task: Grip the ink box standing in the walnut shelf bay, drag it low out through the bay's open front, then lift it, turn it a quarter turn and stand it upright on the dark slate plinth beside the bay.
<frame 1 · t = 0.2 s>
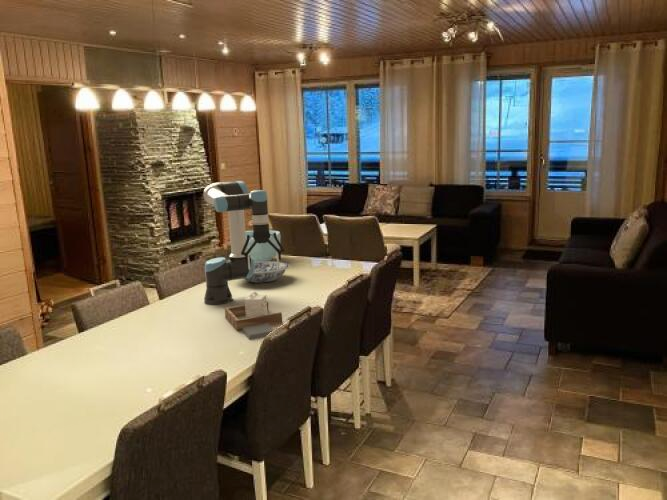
hand: (263, 267, 268), 26 cm above the table, fingers open, 13 cm apart
bowl: (257, 265, 397), on the table
ceramic bowl: (262, 281, 351), on the table
plinth: (258, 333, 257), on the table
ink box: (257, 320, 276), on the table
shelf bay: (253, 320, 275), on the table
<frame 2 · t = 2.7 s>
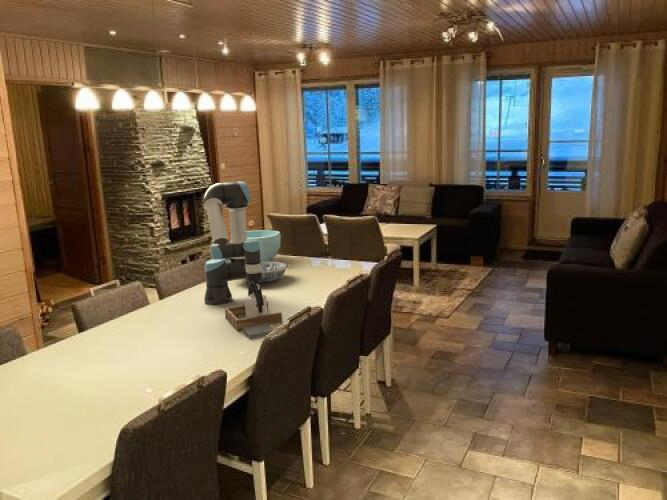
hand: (256, 315, 276), 2 cm above the table, fingers closed on ink box, 11 cm apart
ink box: (257, 320, 276), on the table, touching gripper
everything else where it was.
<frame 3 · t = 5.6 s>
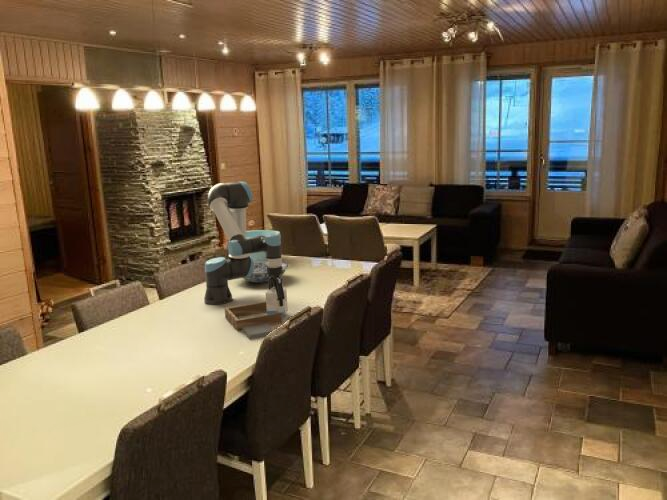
hand: (277, 309, 280), 4 cm above the table, fingers closed on ink box, 11 cm apart
ink box: (277, 313, 280), point 1 cm above the table, touching gripper
everything else where it was.
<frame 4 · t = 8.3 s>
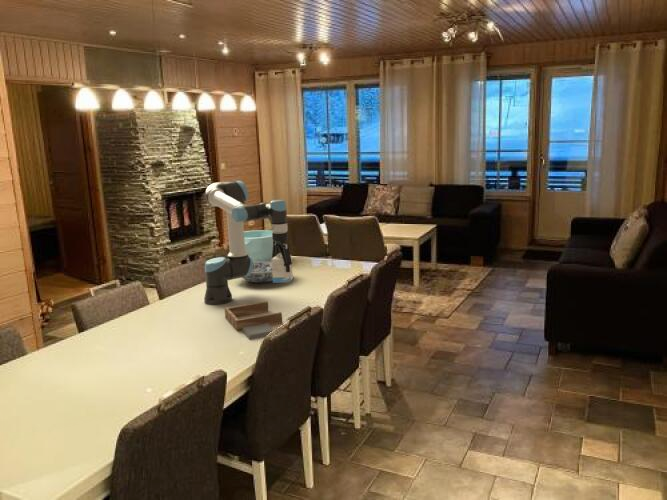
hand: (282, 276, 277), 20 cm above the table, fingers closed on ink box, 11 cm apart
ink box: (283, 280, 277), point 18 cm above the table, touching gripper
everything else where it was.
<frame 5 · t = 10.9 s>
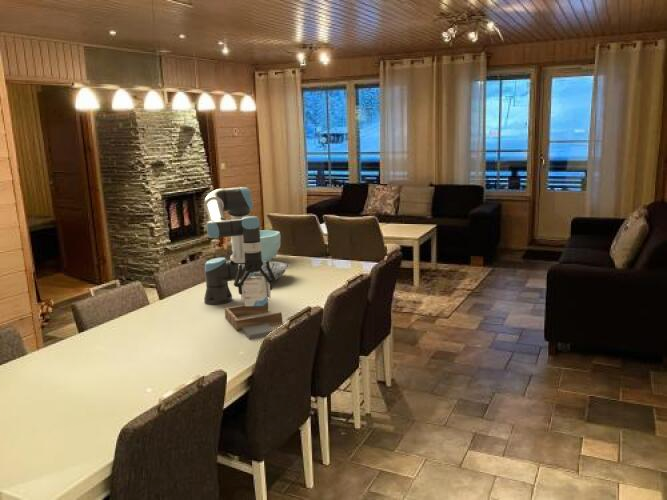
hand: (256, 299, 254), 16 cm above the table, fingers closed on ink box, 11 cm apart
ink box: (256, 304, 254), point 14 cm above the table, touching gripper
everything else where it was.
when the fingers open (6 cm above the table, at t = 13.3 s): ink box drops 1 cm, resting on plinth.
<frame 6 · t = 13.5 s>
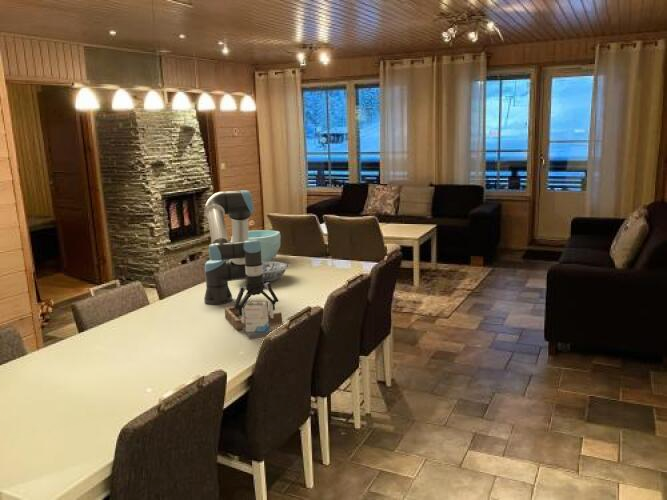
hand: (257, 320, 256), 6 cm above the table, fingers open, 13 cm apart
ink box: (257, 329, 257), point 2 cm above the table, touching plinth
everything else where it was.
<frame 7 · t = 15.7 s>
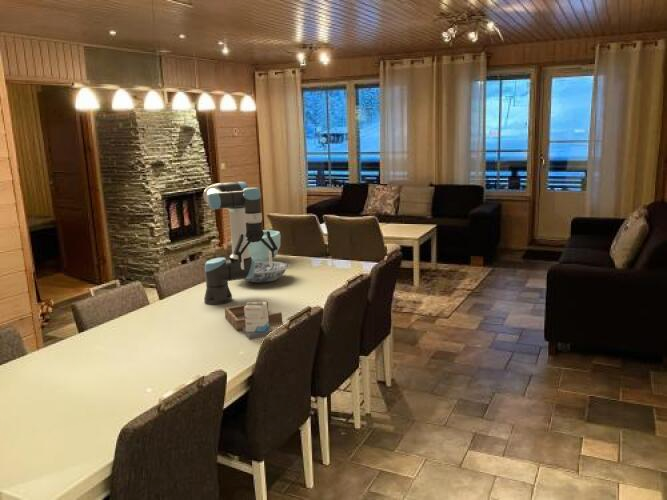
hand: (256, 267, 262), 28 cm above the table, fingers open, 13 cm apart
nothing on the table moved.
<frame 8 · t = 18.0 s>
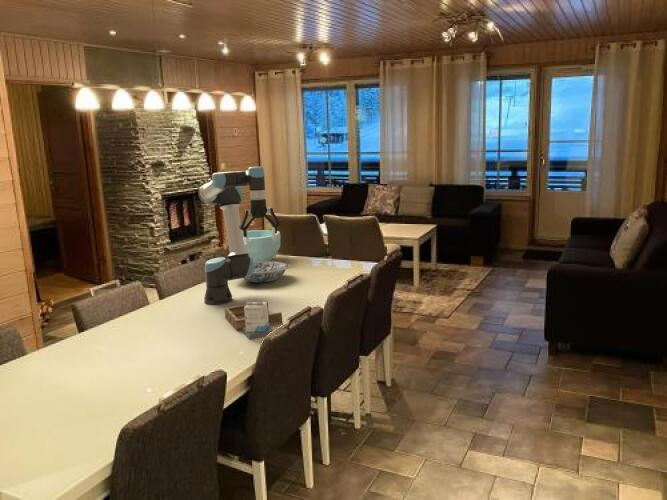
hand: (261, 241, 279), 37 cm above the table, fingers open, 13 cm apart
nothing on the table moved.
at the end: ink box inside the target area on the plinth (0.3 cm from its centre), point 1.8 cm above the plinth's base; ink box tilted 0°; the gripper is holding nothing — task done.
